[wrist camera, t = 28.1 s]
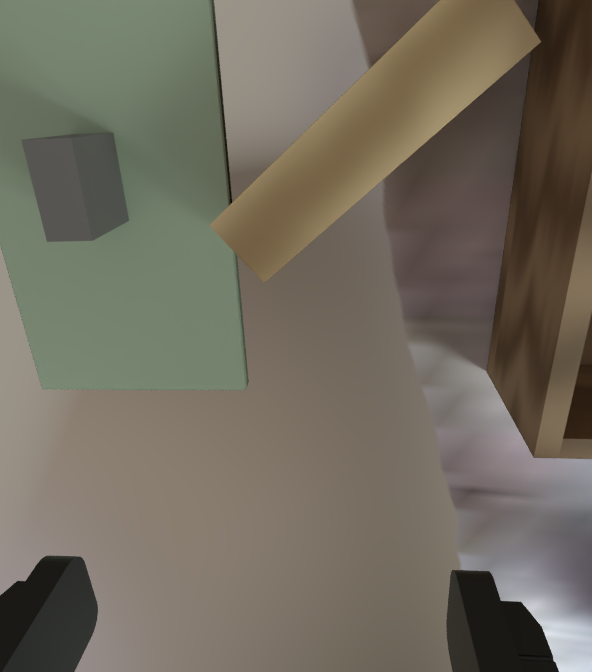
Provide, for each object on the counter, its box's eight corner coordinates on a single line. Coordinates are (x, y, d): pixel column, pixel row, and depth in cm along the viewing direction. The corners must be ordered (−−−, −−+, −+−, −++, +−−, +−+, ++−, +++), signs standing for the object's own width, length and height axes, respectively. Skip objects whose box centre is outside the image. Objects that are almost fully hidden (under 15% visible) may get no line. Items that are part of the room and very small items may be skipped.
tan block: (499, 54, 26) (541, 41, 21) (277, 252, 31) (264, 282, 26) (454, -13, 25) (486, -45, 19) (232, 203, 30) (209, 225, 25)
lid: (248, 381, 36) (232, 432, 30) (51, 380, 37) (0, 429, 32) (210, -42, 26) (174, -83, 20) (-63, -23, 27) (-169, -56, 21)
